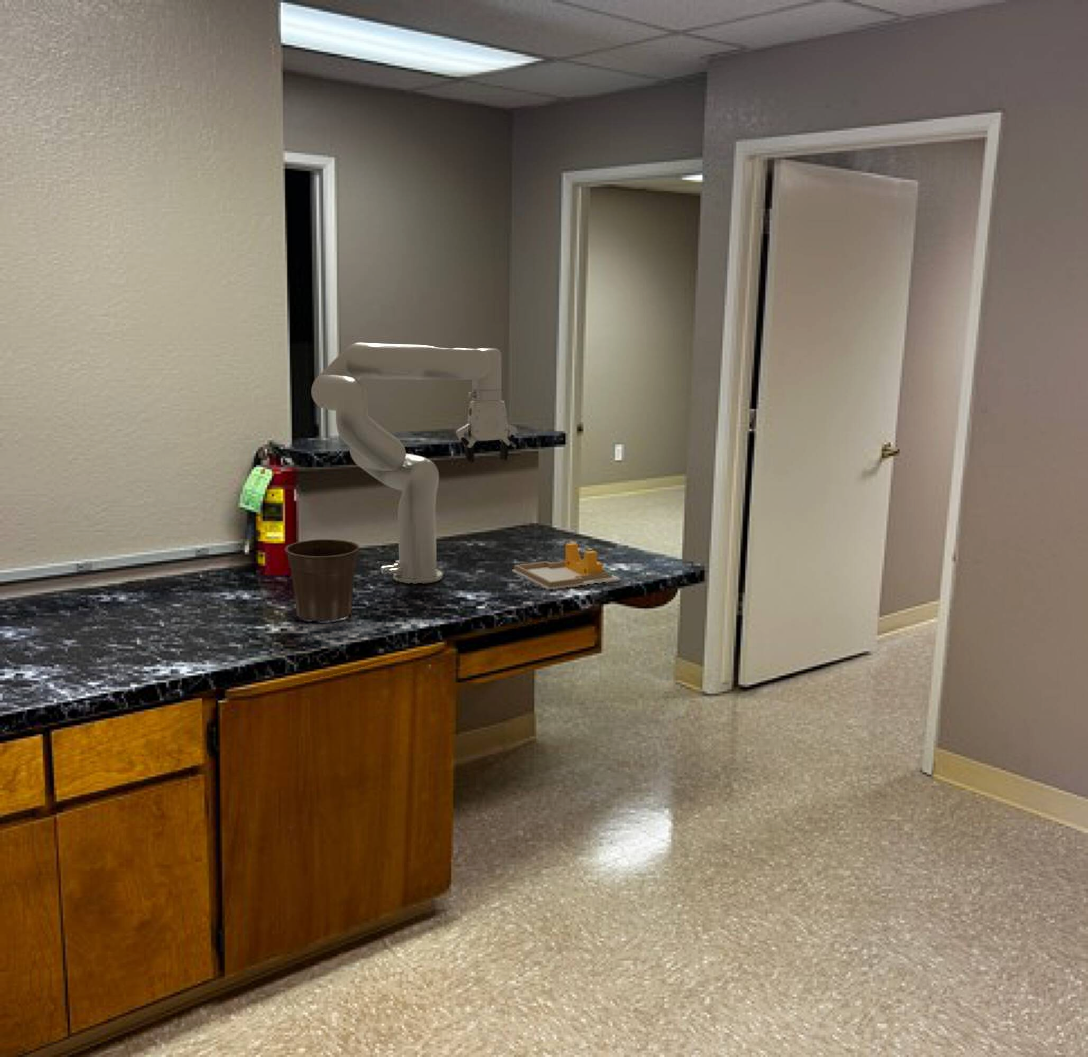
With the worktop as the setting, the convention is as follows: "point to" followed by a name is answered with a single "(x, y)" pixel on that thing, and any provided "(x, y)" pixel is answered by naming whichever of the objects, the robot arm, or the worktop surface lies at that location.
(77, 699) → the worktop surface
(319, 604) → the plant pot
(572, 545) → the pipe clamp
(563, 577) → the shallow rimmed tray
